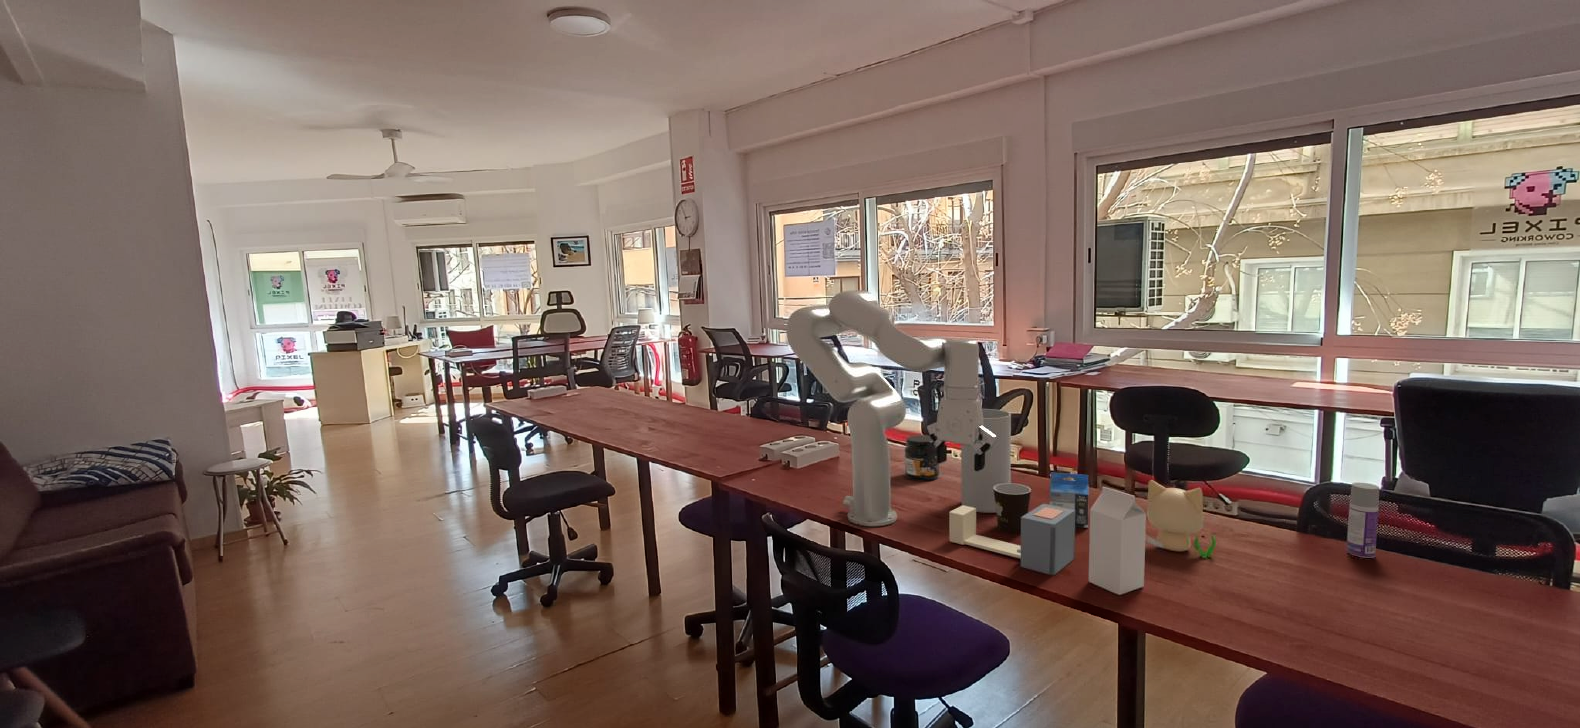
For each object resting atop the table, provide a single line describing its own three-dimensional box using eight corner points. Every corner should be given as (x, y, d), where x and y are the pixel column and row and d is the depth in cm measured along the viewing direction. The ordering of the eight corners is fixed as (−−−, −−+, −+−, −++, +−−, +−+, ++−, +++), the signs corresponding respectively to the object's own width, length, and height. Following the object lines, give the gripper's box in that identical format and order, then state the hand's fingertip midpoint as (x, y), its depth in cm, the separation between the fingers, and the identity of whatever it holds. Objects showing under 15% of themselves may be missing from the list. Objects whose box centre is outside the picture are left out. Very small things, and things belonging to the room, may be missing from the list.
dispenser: (1015, 565, 148) (1015, 515, 146) (1037, 549, 156) (1038, 501, 154) (1053, 575, 142) (1054, 523, 141) (1074, 558, 150) (1075, 509, 149)
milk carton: (1119, 596, 132) (1122, 499, 130) (1088, 582, 139) (1090, 489, 136) (1144, 587, 136) (1147, 492, 133) (1112, 574, 142) (1114, 483, 139)
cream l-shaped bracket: (949, 541, 161) (949, 512, 160) (962, 533, 165) (962, 505, 165) (1020, 560, 149) (1020, 528, 148) (1032, 551, 154) (1033, 521, 153)
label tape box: (1049, 525, 170) (1049, 476, 168) (1049, 519, 174) (1050, 471, 172) (1088, 529, 167) (1089, 479, 165) (1087, 523, 170) (1088, 474, 169)
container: (1370, 552, 148) (1375, 483, 146) (1378, 560, 144) (1383, 490, 142) (1343, 549, 150) (1348, 481, 148) (1350, 557, 146) (1354, 487, 144)
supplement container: (904, 481, 209) (904, 442, 208) (904, 471, 220) (904, 434, 218) (940, 482, 208) (940, 442, 206) (938, 472, 218) (938, 434, 216)
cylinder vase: (1015, 502, 187) (1016, 411, 184) (1002, 517, 177) (1003, 420, 173) (970, 496, 194) (969, 407, 191) (954, 509, 183) (954, 416, 180)
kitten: (1220, 550, 152) (1223, 483, 150) (1209, 565, 144) (1212, 495, 142) (1146, 535, 162) (1148, 472, 160) (1132, 548, 154) (1134, 482, 153)
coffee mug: (1033, 536, 163) (1033, 494, 162) (994, 534, 165) (994, 493, 164) (1026, 519, 175) (1026, 480, 173) (990, 517, 176) (990, 479, 175)
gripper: (919, 391, 162) (919, 462, 165) (987, 400, 150) (986, 477, 153) (937, 387, 168) (936, 456, 170) (1004, 395, 156) (1002, 469, 158)
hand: (960, 466), depth 161 cm, fingers open, 9 cm apart
